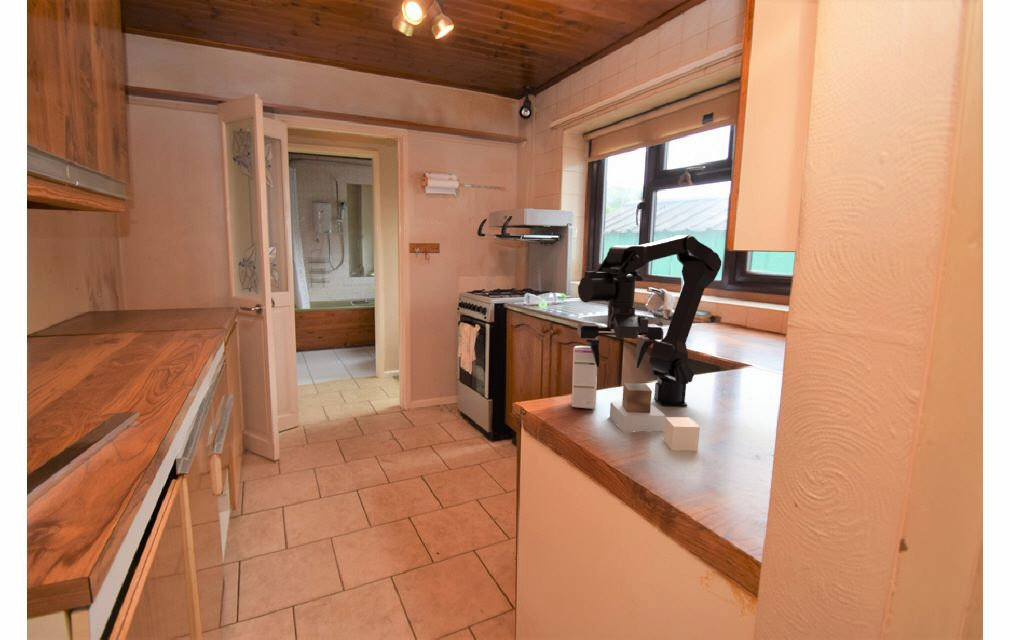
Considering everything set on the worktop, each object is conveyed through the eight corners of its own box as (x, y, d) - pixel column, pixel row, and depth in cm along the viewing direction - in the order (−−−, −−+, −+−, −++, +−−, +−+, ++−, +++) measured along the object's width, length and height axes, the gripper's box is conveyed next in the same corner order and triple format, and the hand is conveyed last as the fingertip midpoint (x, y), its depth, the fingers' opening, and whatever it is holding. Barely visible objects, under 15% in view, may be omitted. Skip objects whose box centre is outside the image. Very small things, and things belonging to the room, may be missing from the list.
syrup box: (595, 409, 110) (598, 348, 110) (570, 407, 111) (573, 346, 111) (595, 404, 116) (598, 346, 115) (571, 402, 117) (574, 345, 116)
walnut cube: (644, 405, 105) (646, 383, 104) (650, 413, 100) (651, 390, 99) (622, 404, 105) (623, 383, 105) (626, 412, 100) (628, 390, 100)
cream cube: (687, 440, 95) (689, 417, 94) (697, 451, 90) (699, 427, 89) (663, 440, 95) (665, 417, 94) (671, 450, 90) (673, 426, 89)
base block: (646, 417, 108) (648, 401, 108) (664, 433, 100) (665, 415, 99) (609, 418, 107) (610, 401, 107) (623, 434, 99) (624, 416, 98)
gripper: (586, 304, 98) (583, 376, 101) (674, 306, 98) (669, 377, 101) (578, 298, 109) (575, 363, 112) (657, 300, 109) (652, 364, 112)
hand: (617, 367), depth 109 cm, fingers open, 9 cm apart
